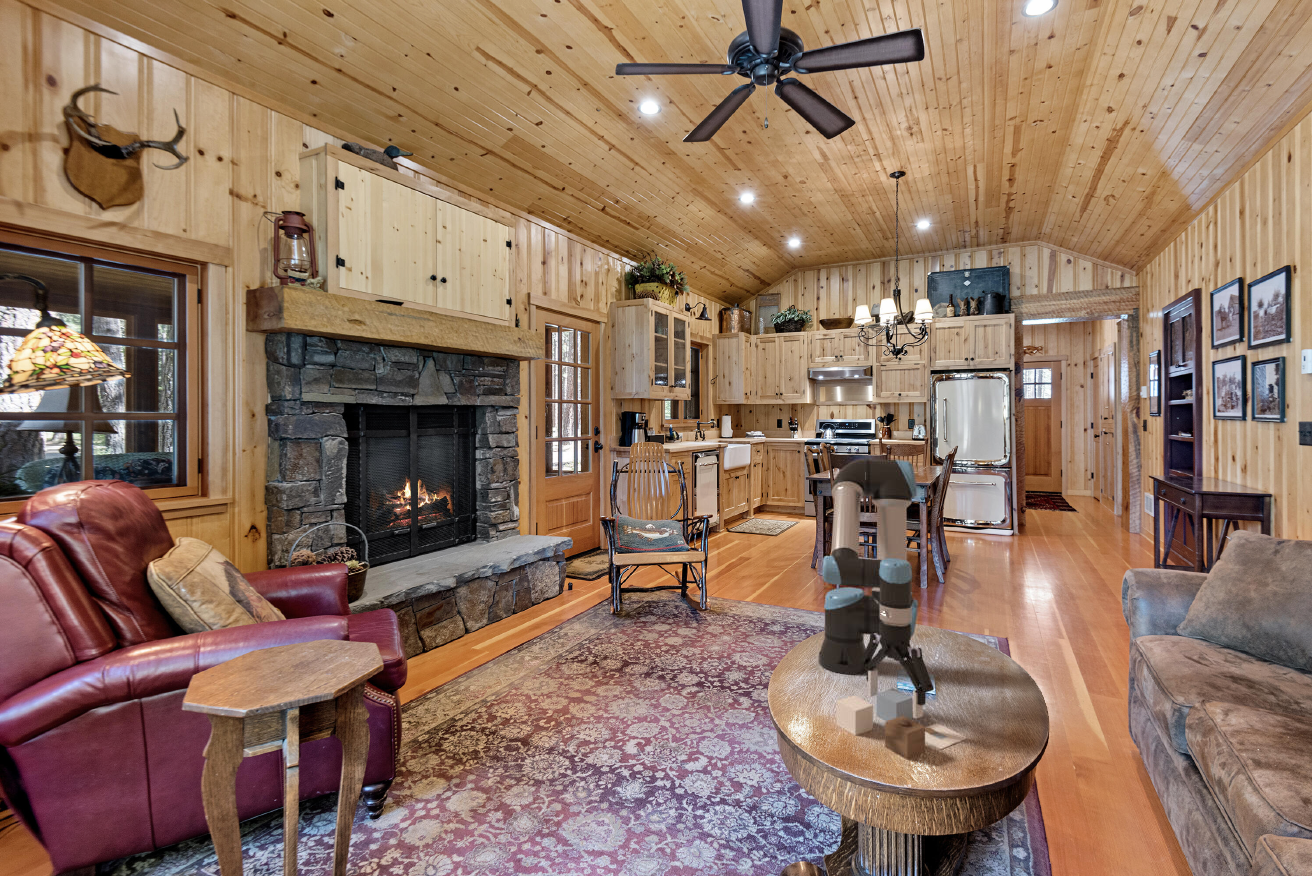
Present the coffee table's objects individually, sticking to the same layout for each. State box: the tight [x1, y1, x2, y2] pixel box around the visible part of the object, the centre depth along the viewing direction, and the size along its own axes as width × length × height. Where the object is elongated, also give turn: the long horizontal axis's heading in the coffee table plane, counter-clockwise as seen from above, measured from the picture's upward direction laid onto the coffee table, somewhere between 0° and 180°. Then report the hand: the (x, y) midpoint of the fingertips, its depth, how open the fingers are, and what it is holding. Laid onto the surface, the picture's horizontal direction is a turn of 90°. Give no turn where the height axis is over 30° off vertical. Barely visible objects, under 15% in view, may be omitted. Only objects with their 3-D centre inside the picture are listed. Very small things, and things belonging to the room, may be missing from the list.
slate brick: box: [876, 687, 913, 722], centre depth 151 cm, size 6×6×6 cm
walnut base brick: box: [884, 716, 926, 761], centre depth 136 cm, size 6×6×6 cm
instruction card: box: [924, 722, 968, 751], centre depth 142 cm, size 8×10×1 cm
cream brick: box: [836, 695, 874, 736], centre depth 147 cm, size 6×6×6 cm
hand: (894, 705), depth 150 cm, fingers open, 13 cm apart
